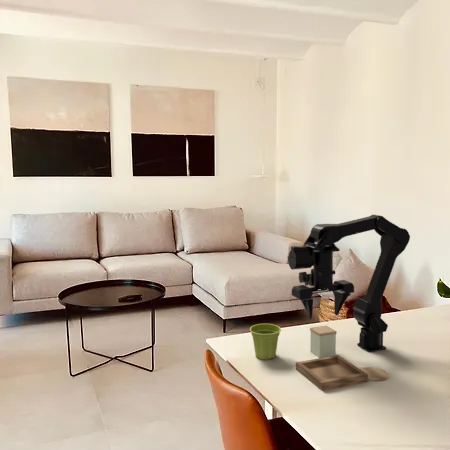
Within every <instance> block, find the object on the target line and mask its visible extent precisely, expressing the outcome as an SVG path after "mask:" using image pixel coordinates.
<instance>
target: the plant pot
mask: <svg viewBox="0 0 450 450" xmlns="http://www.w3.org/2000/svg"><path fill="white" fill-rule="evenodd" d="M281 331H282V328H281V327H280V326H279V325H276V324H273V323H257V324H254V325H251V326H250V328H249V332H250V334H251V336H252V341H253V347H254V353H255V357H256V358H258V359H260V360H264V361H265V360H266V361H267V360H271V359H274V358H275V357H276V356H277V349H278V342H279V341H278V340H279V336H280V333H281Z"/></svg>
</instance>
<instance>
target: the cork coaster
mask: <svg viewBox="0 0 450 450" xmlns="http://www.w3.org/2000/svg"><path fill="white" fill-rule="evenodd" d="M360 369H361V370H362V371H364V372H365V373H367V374H368V381H371V382H383V381H387V380H388V379H389V376H390V375H389V373H388V371H386V370H385V369H383V368H379V367H375V366H364V367H361V368H360Z"/></svg>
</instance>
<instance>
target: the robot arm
mask: <svg viewBox="0 0 450 450" xmlns="http://www.w3.org/2000/svg"><path fill="white" fill-rule="evenodd" d="M370 231H374V233H376V234H377V235H379V236H380V240H379V246H380V254H379V257H378V259H377V262H376V265H375V268H374V271H373V273H372V276H371V278H370V281H369V285H368V287H367V289H366V293H365V294H364V295H363V297H361V298H360V297H356V298H355V302H354V303H355V304H354V306H352V311H353V312H352V315H353V317H354V319H355V320H356V322H357V325H358V326H361V327H360V332H359V336H358V337H359V342H358V343H357V346H358V347H360V348H362V349H364V350H366V351H368V352H375V351H381V350H386V349H387V346H385V345H384V333H386V332H387V330H388V327H389V325H388V323H387V322H386V321H384V320H383V319H382V314H383V306H382V299H383V296H384V294H385V291H386V288H387V285H388V282H389V280H390V276H391V273H392V272H393V271H392V270H393V269H394V266H395V264H396V260H397V258H398V257H400V255H401V254H402V253H403V252H404V251H405V249H406V248H407V246H408V244H409V242H410V241H411V240H410V239H411V235H410V233H409V231H408V230H407V229H406V228H403V227H399V226H398V225H396V224H395V223H394V222H392V221H389V220H388V219H387V218H386V217H384V216H383V215H379V214H371V215H369V216H365V217H362V218H357V219H356V218H355V219H352V220H348V221H345V222H339V223H317V224H315V225H313V226H312V228H311V229H310V233H309V235H308V237H307V238H306V240H305V241H304V243H303V245H299V246H297V245H292V246H290V251H289V252H288V256H287V263H288V265H289V268H290V269H291V270H292V271H293V270H294V271H295V270H304V269H310V273H307V271H301V272H298V280H299V281H298V282H299V283H300V284H302V283H303V284H302V285H294V286H293V287H292V289H291V296H293V297H295V298H296V299H298V300H300V302H301V304H302V305H303V307H304V309H305V312H306V316H307V318H308V320H312V318H313V311H314V308H313V307H314V298H313V295H315V294H320V293H321V294H322V293H328V292H332V293H333V296H334V305H333V307H334V315H335V316H339V314H340V312H341V310H342V308H343V306H344V304H345V302H346V301H347V300H348V297H350V296H351V295H352V294H353V293H355V285H354V284H353V282H350V281H349V280H345V279H341V280H334V276H333V275H336V270H334V269H333V268H334V265H333V264H334V258H333V257H334V256H333V255H334V254H333V253H334V252H340V248H339V247H338V246H337V245H336V244H335V243H337V242H339V241H341V240H342V239H343V238H346V237H349V236H353V235H354V236H355V235H358V234H361V233H366V232H370ZM312 267H313V268H312ZM309 286H311V287H309Z"/></svg>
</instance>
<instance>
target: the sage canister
mask: <svg viewBox="0 0 450 450" xmlns="http://www.w3.org/2000/svg"><path fill="white" fill-rule="evenodd" d="M309 331H310V353H311V354H312V355H314V356H315V357H317V359H318V358H324V357H330V356H336V355H337V353H336V352H337V350H336V349H337V348H336V347H337V346H336V344H337V340H336V339H337V337H336V336H337V333H338V331H337V330H335V329H334V328H332V327H330V326H328V325H319V326H313V327H309Z"/></svg>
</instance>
